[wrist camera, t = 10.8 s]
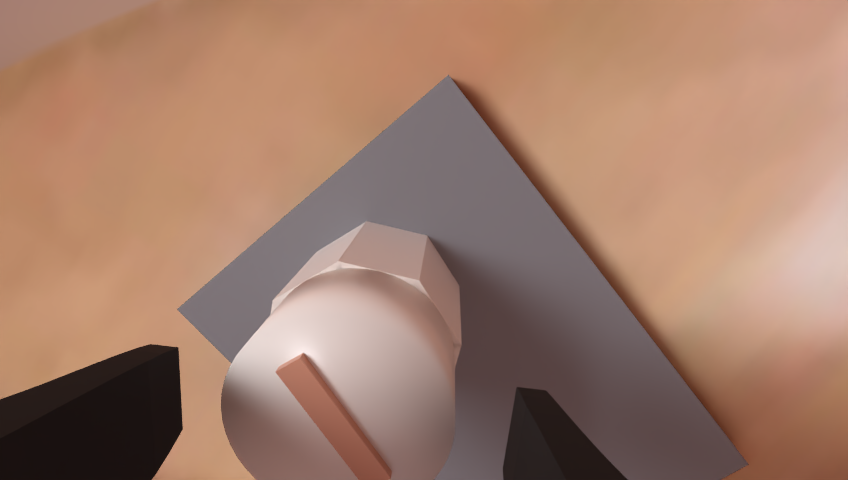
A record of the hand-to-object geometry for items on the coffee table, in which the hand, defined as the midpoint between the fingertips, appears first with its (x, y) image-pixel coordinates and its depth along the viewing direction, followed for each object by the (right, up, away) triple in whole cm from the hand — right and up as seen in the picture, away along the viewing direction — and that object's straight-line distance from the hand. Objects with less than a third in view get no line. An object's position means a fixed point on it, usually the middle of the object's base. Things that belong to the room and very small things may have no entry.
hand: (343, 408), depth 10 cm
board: (+3, -1, +8) cm, 8 cm away
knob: (0, +2, +6) cm, 6 cm away
